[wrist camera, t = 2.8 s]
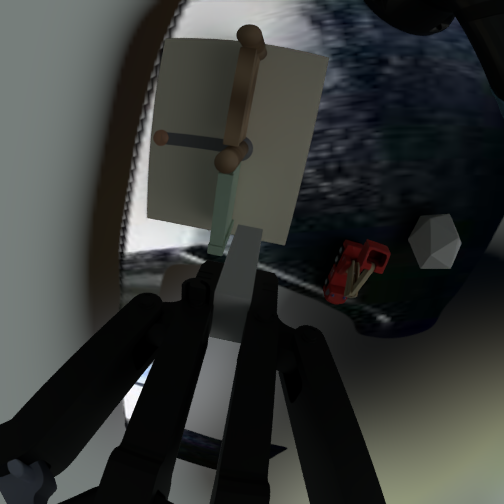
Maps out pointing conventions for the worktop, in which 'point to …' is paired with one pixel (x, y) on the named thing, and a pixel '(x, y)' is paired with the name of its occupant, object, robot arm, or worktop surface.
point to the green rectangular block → (223, 211)
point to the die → (435, 241)
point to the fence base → (241, 98)
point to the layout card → (213, 129)
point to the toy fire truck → (354, 269)
